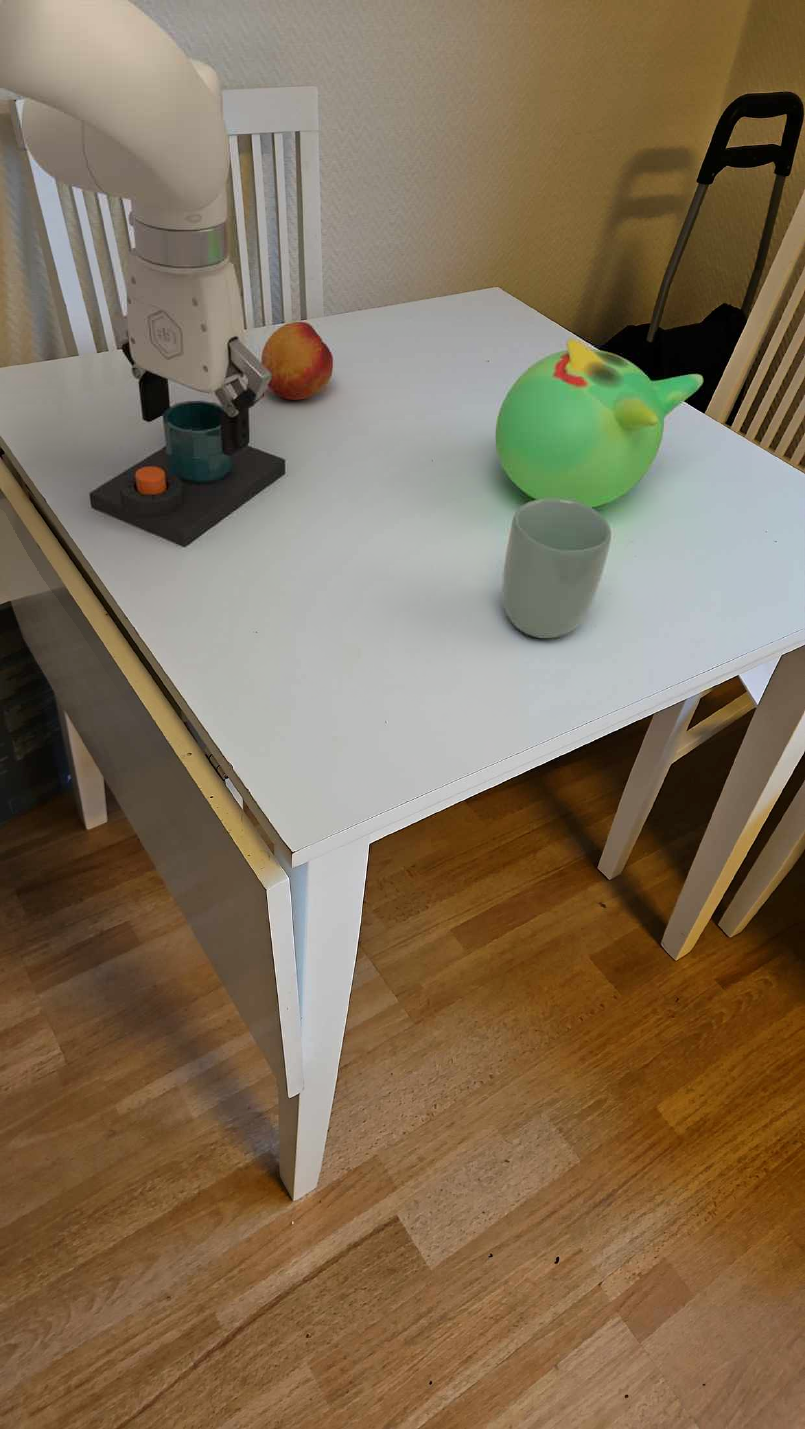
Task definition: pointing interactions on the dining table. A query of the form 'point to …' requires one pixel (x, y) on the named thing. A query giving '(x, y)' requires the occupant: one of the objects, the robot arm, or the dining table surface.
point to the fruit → (297, 361)
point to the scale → (186, 495)
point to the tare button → (150, 480)
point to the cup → (553, 565)
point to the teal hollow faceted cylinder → (195, 441)
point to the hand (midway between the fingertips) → (195, 432)
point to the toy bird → (584, 424)
